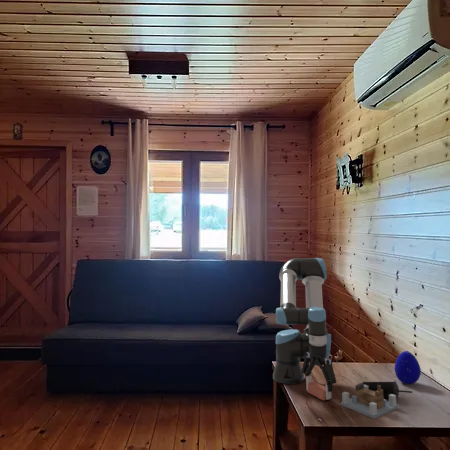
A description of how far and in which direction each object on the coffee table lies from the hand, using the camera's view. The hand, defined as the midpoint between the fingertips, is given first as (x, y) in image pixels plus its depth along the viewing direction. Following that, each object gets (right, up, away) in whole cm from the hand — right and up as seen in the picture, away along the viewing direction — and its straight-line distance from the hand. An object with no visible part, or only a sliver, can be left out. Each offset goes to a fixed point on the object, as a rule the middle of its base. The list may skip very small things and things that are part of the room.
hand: (318, 394), depth 179 cm
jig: (+18, 0, -11) cm, 21 cm away
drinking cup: (+20, +2, +3) cm, 21 cm away
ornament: (+45, -1, +13) cm, 47 cm away
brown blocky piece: (+18, +1, -11) cm, 21 cm away
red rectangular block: (0, 0, 0) cm, 0 cm away
